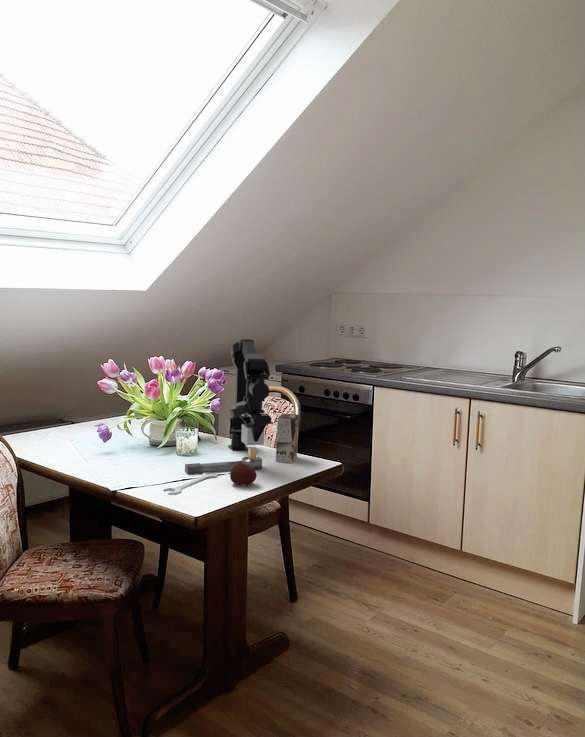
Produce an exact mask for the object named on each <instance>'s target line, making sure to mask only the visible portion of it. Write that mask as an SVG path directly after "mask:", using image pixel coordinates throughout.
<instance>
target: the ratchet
mask: <svg viewBox="0 0 585 737" xmlns="http://www.w3.org/2000/svg"><path fill="white" fill-rule="evenodd" d="M247 447H248V449H247V456H244V457H242V458H241V460H235V461H222V462H221V461H220V462H208V463H200V462H199V463H198V462H197V463H185V464H184V471H185V473H186V475H194V474H196V473H197V474H203V473H217V472H220V473H221V472H231V469H232V468H233V466H234V465H236V464H238V463H245V464H247V465H249V466H251V467H252V468H253V469H254V470H255V471H260V470H262V468H263V459H262V457H258V456H257V447H255V446H251V447H250V446H247Z"/></svg>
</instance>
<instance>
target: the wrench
mask: <svg viewBox="0 0 585 737" xmlns="http://www.w3.org/2000/svg"><path fill="white" fill-rule="evenodd" d="M218 476H219V475H218V473H216V472H207V473H202V476H199V477H197V478H195V479H192V480H191V481H187V482H186V483H184V484H181V485H179V486H177V487H173V486H172V487H166V488H164V489H163V491H164V492H166V491H167V494H168V495H170V496H173V495H174V496H175V495H178V494H181V493H182V490H184V489H186V488H189V487H191V486H192V485H195V484H197V483H200V482H202V481H204V480H206V479H208V478H209V479H213V478H214V479H215V478H218ZM168 491H169V492H168Z"/></svg>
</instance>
